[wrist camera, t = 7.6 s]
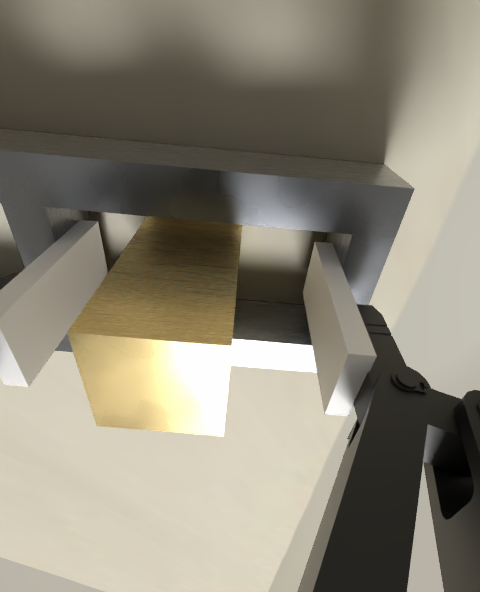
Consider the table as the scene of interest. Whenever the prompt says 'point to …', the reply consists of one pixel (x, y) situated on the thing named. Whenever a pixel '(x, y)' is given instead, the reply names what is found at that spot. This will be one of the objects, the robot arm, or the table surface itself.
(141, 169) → the rack frame
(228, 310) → the brushed brass bar
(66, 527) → the table surface
